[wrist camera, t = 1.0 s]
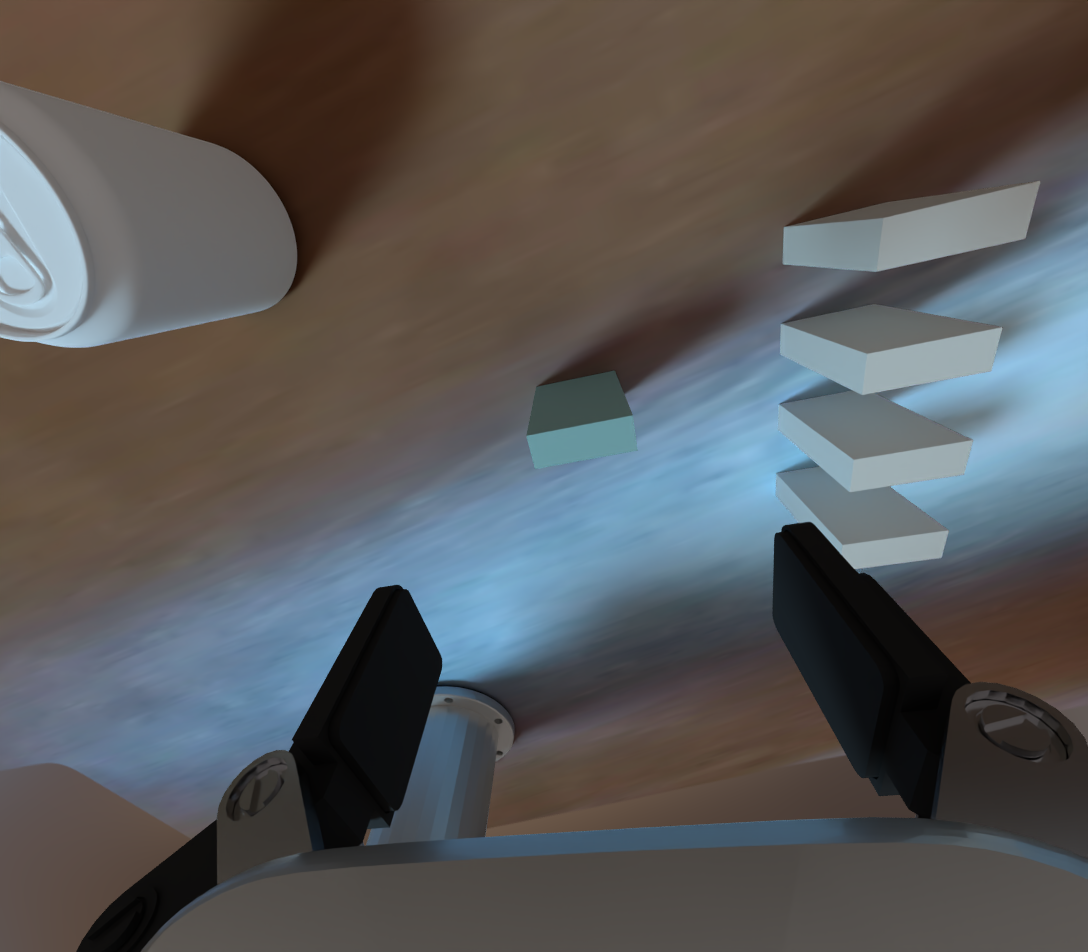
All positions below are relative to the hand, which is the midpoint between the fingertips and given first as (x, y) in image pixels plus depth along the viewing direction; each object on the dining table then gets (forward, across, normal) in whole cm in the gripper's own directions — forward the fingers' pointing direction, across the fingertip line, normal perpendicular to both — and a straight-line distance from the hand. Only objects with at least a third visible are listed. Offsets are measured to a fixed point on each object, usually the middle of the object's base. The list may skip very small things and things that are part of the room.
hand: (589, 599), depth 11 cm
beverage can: (+19, +17, -13) cm, 28 cm away
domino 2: (+18, -15, -5) cm, 24 cm away
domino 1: (+18, 0, 0) cm, 18 cm away
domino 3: (+18, -15, 0) cm, 24 cm away
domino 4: (+18, -15, +5) cm, 24 cm away
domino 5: (+18, -15, +10) cm, 26 cm away
